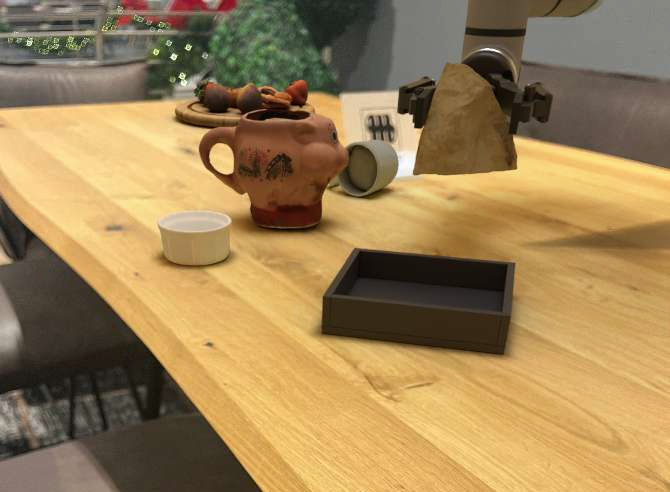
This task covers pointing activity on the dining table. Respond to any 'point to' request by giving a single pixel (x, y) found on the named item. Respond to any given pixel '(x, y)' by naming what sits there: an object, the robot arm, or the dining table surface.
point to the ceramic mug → (367, 168)
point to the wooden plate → (239, 102)
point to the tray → (421, 300)
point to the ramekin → (195, 237)
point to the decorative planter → (280, 164)
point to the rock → (464, 128)
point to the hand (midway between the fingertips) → (466, 116)
